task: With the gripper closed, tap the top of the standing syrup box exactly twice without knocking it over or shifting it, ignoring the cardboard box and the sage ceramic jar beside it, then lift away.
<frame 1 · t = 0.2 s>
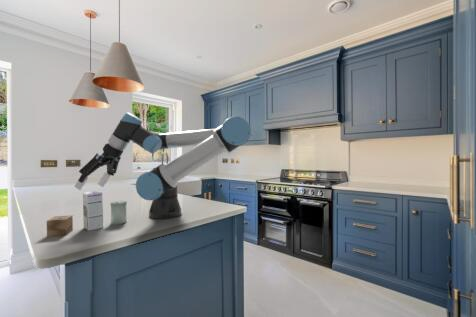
hand: (89, 186, 101), 16 cm above the worktop, tool tilted 35°, fingers open, 13 cm apart
syrup box: (93, 228, 94), on the worktop
cardboard box: (60, 233, 87), on the worktop
sage jar: (118, 222, 101), on the worktop
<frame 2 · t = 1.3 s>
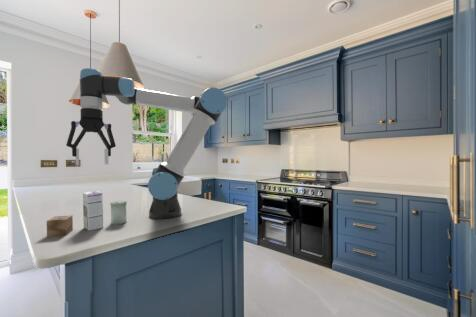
hand: (92, 164, 93), 26 cm above the worktop, tool pointing down, fingers open, 9 cm apart
nothing on the worktop moved.
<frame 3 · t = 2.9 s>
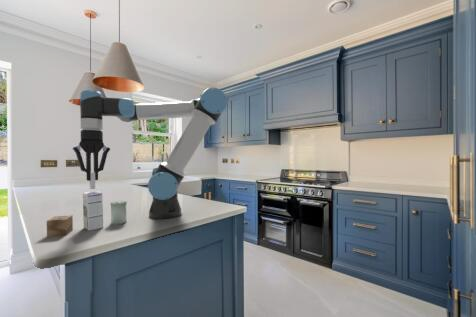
hand: (92, 188, 94), 16 cm above the worktop, tool pointing down, fingers closed
nothing on the worktop moved.
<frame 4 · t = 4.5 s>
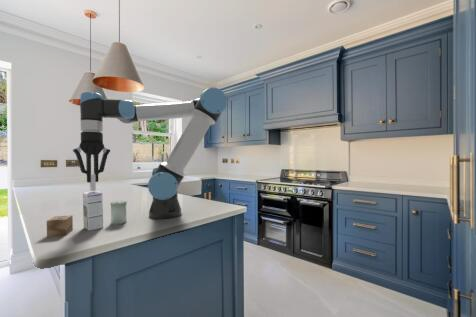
hand: (92, 190, 94), 15 cm above the worktop, tool pointing down, fingers closed
nothing on the worktop moved.
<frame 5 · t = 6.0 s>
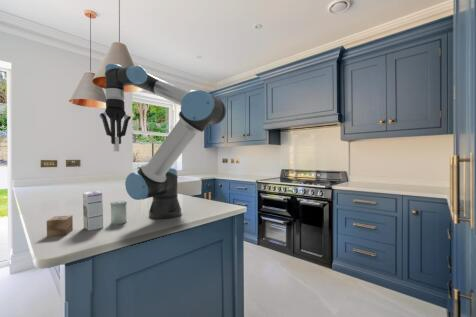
hand: (116, 151, 106), 31 cm above the worktop, tool pointing down, fingers closed
nothing on the worktop moved.
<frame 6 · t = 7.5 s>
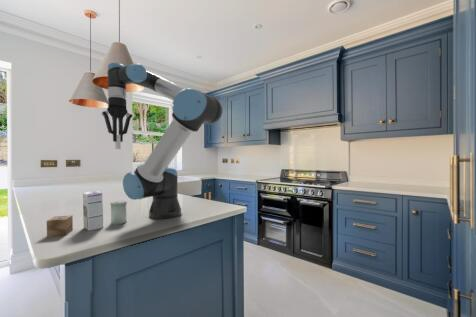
hand: (118, 148, 108), 32 cm above the worktop, tool pointing down, fingers closed
nothing on the worktop moved.
at the end: syrup box moved 0.2 cm from its start; syrup box tilted 0°; syrup box touching worktop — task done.
